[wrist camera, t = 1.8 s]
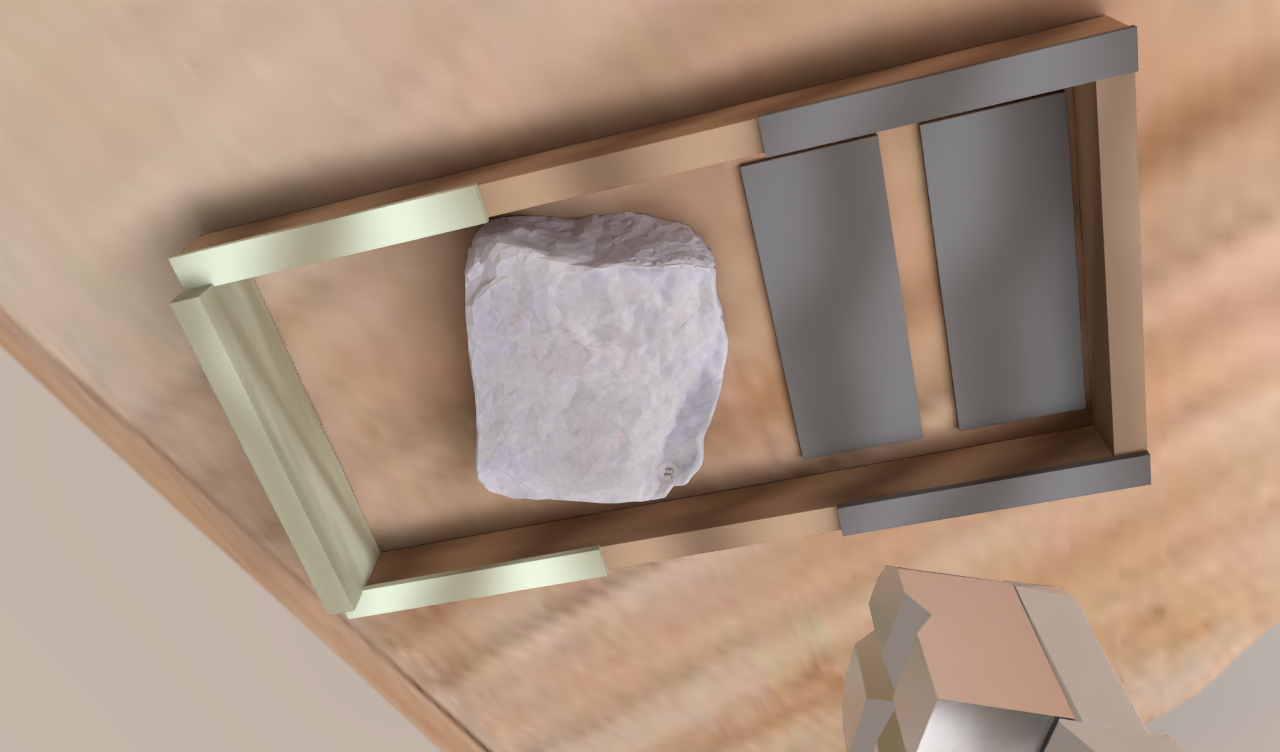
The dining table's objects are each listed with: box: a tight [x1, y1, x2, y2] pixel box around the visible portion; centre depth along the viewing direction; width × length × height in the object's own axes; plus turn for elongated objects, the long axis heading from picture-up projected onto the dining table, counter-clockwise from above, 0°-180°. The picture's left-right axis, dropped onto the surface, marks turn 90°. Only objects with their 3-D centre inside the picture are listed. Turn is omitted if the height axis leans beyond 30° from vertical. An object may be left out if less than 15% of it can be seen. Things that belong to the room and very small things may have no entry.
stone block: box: [465, 212, 728, 503], centre depth 40 cm, size 12×5×10 cm
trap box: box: [168, 16, 1151, 619], centre depth 39 cm, size 34×18×4 cm, turn 104°
